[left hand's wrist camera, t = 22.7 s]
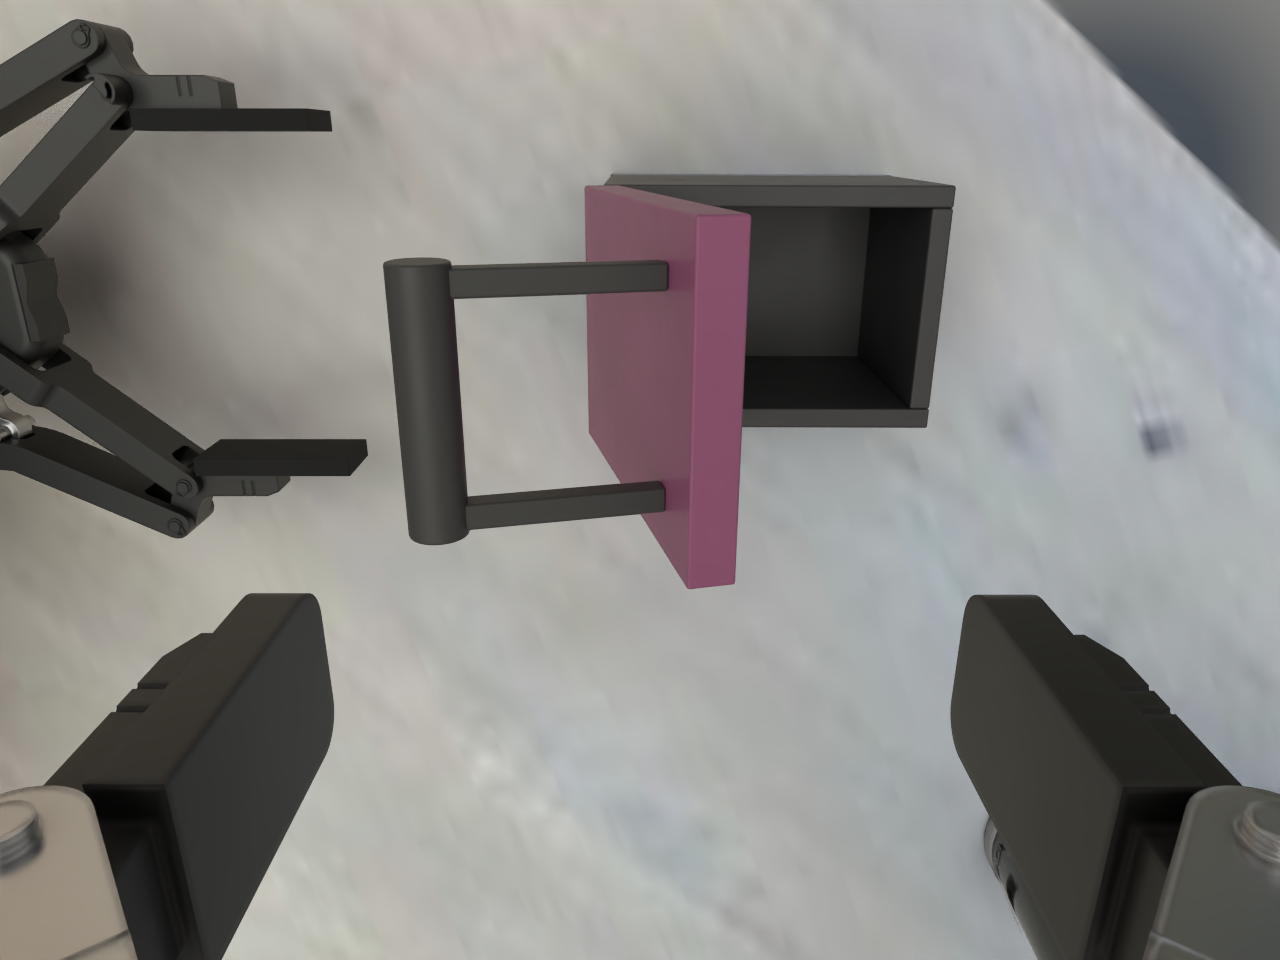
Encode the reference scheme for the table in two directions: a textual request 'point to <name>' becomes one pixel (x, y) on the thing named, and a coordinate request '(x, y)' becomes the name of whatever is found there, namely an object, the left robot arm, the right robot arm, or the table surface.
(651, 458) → the lid
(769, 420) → the chest
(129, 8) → the table surface
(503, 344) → the table surface
